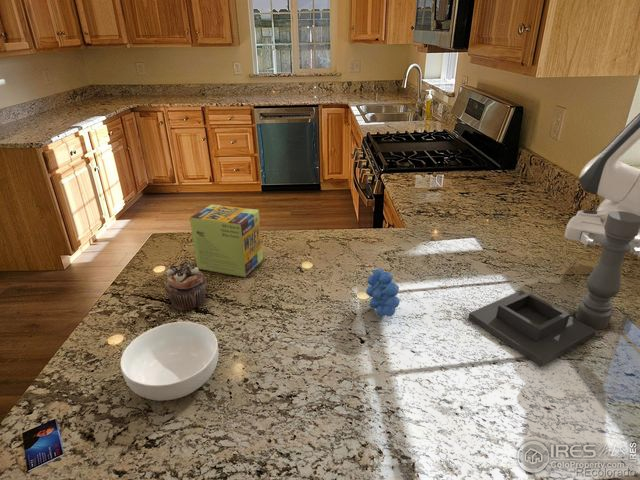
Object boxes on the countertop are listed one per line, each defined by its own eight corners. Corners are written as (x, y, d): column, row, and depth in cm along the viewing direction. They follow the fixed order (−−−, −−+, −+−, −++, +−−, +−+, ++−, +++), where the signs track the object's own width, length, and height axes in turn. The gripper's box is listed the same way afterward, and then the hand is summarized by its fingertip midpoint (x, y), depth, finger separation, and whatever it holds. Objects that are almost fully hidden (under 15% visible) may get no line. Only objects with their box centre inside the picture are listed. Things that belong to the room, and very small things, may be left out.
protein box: (246, 278, 112) (241, 224, 105) (196, 269, 117) (188, 217, 110) (263, 259, 121) (259, 209, 114) (216, 252, 126) (210, 203, 119)
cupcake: (217, 297, 104) (212, 261, 100) (185, 317, 97) (179, 279, 92) (191, 286, 109) (185, 251, 104) (159, 304, 102) (151, 267, 97)
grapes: (411, 324, 93) (416, 277, 88) (385, 332, 91) (388, 285, 86) (383, 297, 103) (386, 254, 98) (359, 304, 101) (361, 260, 95)
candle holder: (576, 309, 98) (606, 208, 87) (607, 317, 95) (643, 214, 84) (574, 323, 93) (606, 218, 82) (607, 332, 90) (645, 225, 79)
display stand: (594, 335, 89) (600, 318, 87) (541, 366, 81) (546, 348, 79) (520, 295, 103) (523, 279, 101) (468, 318, 95) (471, 301, 93)
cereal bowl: (113, 379, 80) (104, 349, 76) (193, 338, 90) (188, 310, 87) (153, 433, 69) (145, 401, 65) (239, 379, 79) (235, 349, 76)
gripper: (660, 249, 103) (664, 273, 93) (565, 231, 114) (559, 251, 103) (669, 225, 101) (674, 247, 90) (571, 209, 111) (565, 227, 100)
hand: (612, 249), depth 97 cm, fingers open, 8 cm apart
